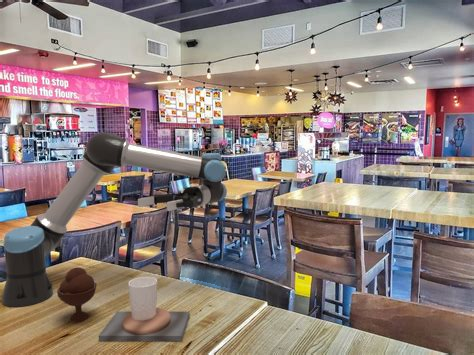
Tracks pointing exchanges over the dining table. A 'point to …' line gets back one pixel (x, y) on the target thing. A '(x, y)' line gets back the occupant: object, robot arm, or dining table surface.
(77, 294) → the ice cream bowl
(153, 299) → the white cup
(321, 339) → the dining table surface
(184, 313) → the serving stand
